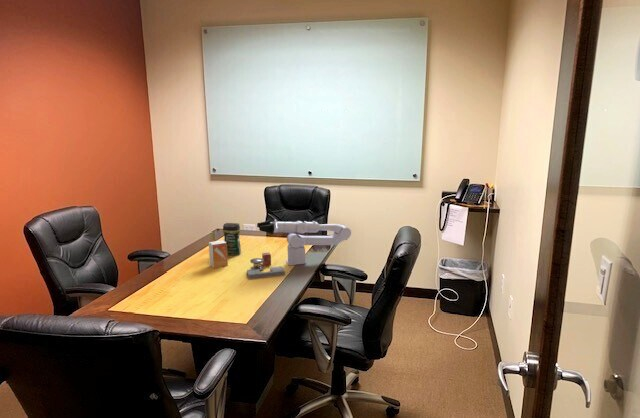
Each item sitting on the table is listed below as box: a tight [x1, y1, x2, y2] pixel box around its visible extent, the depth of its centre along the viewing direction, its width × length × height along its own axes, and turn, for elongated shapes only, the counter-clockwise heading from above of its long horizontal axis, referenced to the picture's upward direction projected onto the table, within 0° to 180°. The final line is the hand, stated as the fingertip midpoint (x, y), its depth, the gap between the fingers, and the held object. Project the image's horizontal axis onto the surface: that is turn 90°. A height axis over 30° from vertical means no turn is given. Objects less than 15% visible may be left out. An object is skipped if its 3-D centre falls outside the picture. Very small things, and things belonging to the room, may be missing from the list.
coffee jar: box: [222, 222, 242, 256], centre depth 249 cm, size 10×8×19 cm
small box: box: [208, 239, 229, 269], centre depth 229 cm, size 8×6×13 cm
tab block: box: [261, 252, 272, 267], centre depth 231 cm, size 4×4×6 cm
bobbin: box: [250, 257, 265, 272], centre depth 224 cm, size 7×7×5 cm
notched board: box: [246, 265, 286, 280], centre depth 216 cm, size 18×8×2 cm, turn 106°
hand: (258, 226), depth 225 cm, fingers open, 7 cm apart
